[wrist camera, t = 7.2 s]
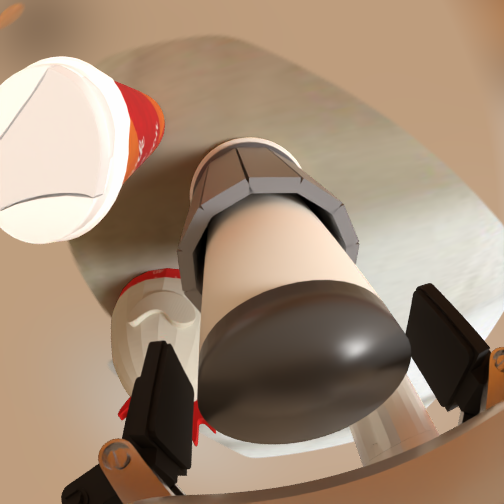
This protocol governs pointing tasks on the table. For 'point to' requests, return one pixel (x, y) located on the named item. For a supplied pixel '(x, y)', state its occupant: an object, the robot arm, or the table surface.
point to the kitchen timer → (155, 330)
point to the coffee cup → (68, 147)
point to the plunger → (289, 327)
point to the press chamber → (241, 185)
